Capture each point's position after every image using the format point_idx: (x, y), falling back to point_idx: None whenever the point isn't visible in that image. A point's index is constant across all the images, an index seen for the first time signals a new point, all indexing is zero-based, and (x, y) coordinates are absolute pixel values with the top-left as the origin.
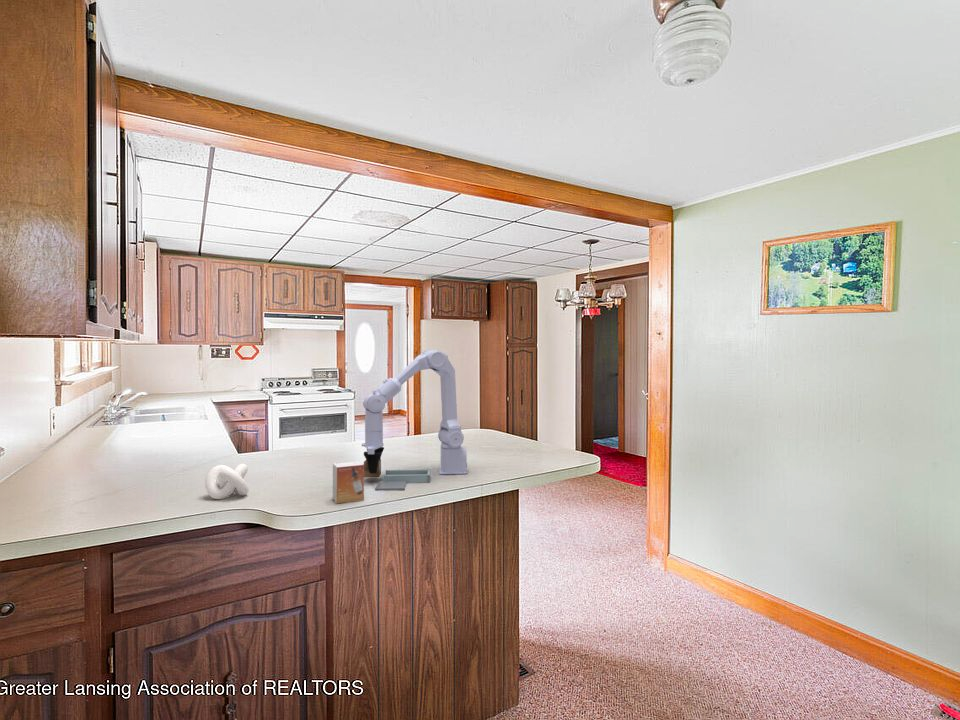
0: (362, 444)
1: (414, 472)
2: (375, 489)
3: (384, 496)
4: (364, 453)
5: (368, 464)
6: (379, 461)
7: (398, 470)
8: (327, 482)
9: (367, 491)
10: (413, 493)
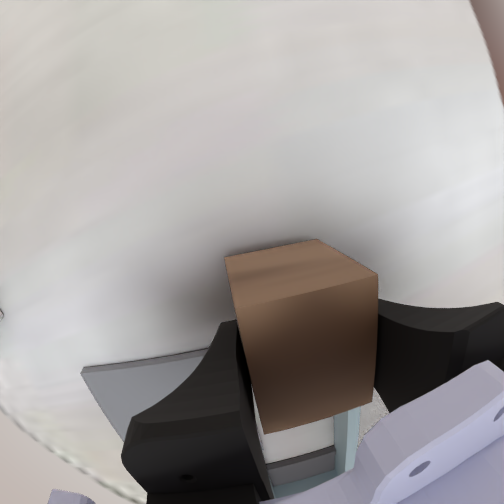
0: (387, 484)
1: (342, 455)
2: (82, 372)
3: (42, 411)
4: (123, 448)
5: (202, 364)
6: (292, 427)
7: (348, 418)
8: (184, 16)
9: (58, 336)
10: (120, 477)
